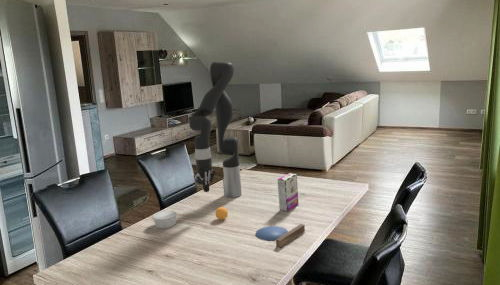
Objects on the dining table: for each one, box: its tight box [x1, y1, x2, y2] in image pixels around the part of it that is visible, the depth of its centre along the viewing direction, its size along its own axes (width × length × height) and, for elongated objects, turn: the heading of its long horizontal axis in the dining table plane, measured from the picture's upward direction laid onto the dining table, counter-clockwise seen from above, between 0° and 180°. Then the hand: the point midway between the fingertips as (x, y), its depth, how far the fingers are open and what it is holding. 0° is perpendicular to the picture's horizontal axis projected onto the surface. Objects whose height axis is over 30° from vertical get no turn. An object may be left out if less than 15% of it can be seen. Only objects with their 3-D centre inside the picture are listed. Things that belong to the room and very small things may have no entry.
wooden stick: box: [275, 223, 306, 249], centre depth 163 cm, size 2×18×3 cm, turn 140°
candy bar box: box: [277, 172, 300, 212], centre depth 197 cm, size 11×5×16 cm, turn 143°
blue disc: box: [255, 225, 289, 242], centre depth 170 cm, size 14×14×1 cm
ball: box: [214, 206, 228, 221], centre depth 188 cm, size 6×6×6 cm
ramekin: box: [152, 209, 177, 229], centre depth 186 cm, size 11×11×5 cm
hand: (206, 191), depth 192 cm, fingers closed
